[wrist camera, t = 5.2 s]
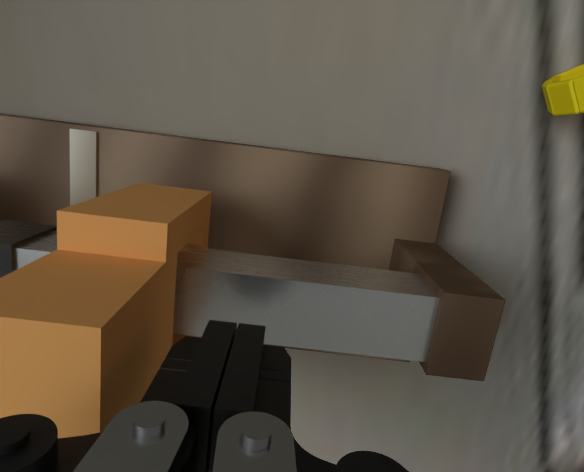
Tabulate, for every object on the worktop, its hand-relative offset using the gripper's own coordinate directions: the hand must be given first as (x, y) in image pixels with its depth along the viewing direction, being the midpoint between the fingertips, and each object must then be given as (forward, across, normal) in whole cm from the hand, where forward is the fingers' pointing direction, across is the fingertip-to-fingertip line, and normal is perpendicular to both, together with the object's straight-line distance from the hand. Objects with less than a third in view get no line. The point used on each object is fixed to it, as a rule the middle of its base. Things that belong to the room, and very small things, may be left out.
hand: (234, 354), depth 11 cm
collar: (+7, +4, 0) cm, 8 cm away
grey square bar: (+6, +4, 0) cm, 7 cm away
